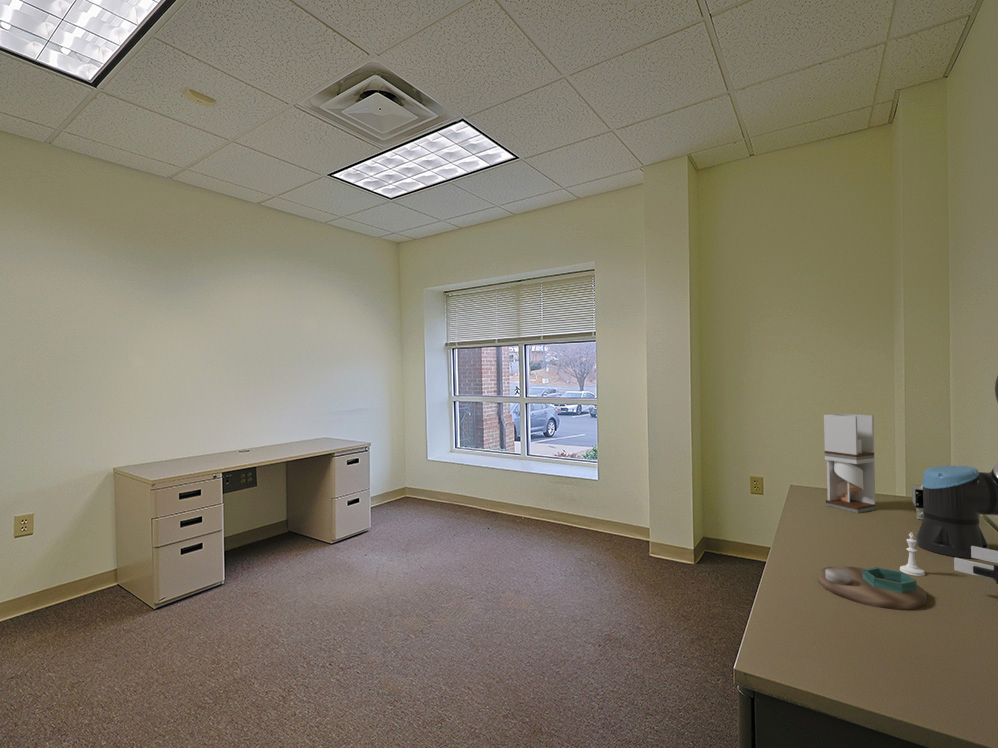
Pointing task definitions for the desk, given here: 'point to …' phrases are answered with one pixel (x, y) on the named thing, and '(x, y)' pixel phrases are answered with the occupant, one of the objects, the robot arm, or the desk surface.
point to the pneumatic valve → (918, 500)
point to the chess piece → (912, 559)
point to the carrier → (873, 587)
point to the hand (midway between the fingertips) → (963, 557)
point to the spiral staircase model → (850, 461)
